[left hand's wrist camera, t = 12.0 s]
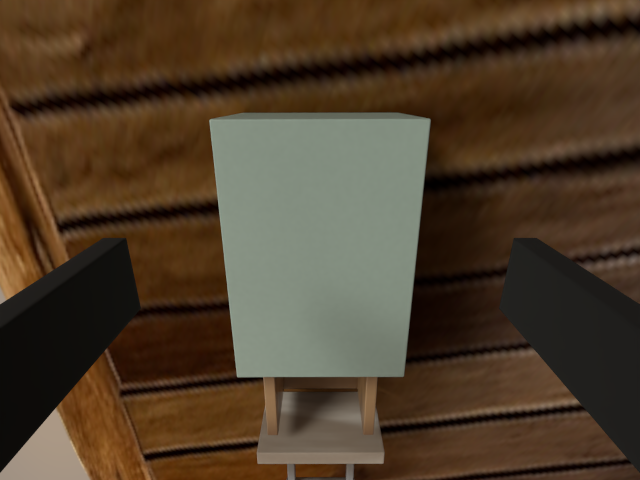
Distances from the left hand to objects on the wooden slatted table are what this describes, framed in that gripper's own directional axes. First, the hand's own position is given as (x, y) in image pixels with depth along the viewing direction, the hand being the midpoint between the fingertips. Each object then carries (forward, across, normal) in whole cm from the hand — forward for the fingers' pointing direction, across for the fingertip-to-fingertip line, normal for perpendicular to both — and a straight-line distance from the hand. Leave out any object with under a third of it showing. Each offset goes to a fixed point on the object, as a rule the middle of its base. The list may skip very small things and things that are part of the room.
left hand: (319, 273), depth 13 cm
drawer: (+15, 0, -16) cm, 22 cm away
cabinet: (+16, 0, -3) cm, 16 cm away
